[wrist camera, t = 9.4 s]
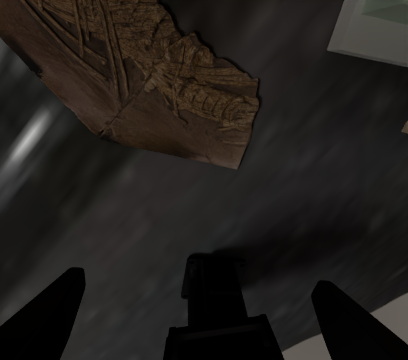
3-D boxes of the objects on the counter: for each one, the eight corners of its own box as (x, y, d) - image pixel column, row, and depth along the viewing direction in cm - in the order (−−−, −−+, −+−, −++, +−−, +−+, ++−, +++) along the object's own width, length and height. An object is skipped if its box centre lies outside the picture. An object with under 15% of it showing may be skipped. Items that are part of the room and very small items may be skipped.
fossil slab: (289, 114, 18) (294, 117, 17) (200, 203, 22) (200, 210, 21) (-101, -302, 9) (-133, -342, 8) (-148, -38, 13) (-175, -46, 12)
